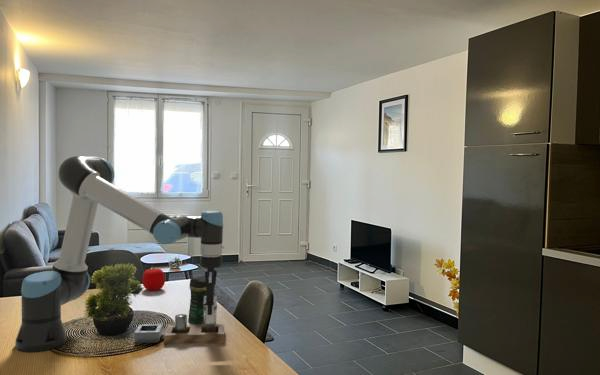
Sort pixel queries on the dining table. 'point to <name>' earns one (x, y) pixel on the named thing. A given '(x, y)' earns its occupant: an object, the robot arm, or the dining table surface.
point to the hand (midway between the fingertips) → (209, 320)
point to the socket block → (148, 333)
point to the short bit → (181, 323)
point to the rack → (194, 335)
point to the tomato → (153, 279)
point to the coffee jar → (197, 300)
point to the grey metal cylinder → (213, 326)
